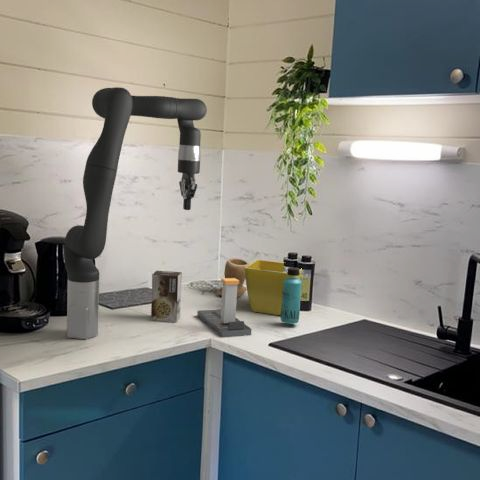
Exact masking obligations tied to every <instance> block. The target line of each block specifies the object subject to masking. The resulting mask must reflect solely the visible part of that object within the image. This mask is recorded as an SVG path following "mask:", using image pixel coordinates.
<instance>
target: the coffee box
mask: <svg viewBox="0 0 480 480" xmlns="http://www.w3.org/2000/svg"><path fill="white" fill-rule="evenodd" d="M182 274H183V273H182V272H181V271H170V270H169V271H168V270H156V271H154V272H153V273H152V274H151V305H150V306H151V308H150V309H151V313H150V314H151V315H150V321H152V322H154V321H155V322H169V323H178V321H179V320H180V319H181V301H182V299H181V298H182V276H183V275H182Z"/></svg>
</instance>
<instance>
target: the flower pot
mask: <svg viewBox="0 0 480 480" xmlns="http://www.w3.org/2000/svg"><path fill="white" fill-rule="evenodd" d="M284 263H285V262H281V261H274V260H273V261H272V260H265V259H264V260H263V259H256V260H254V261H253V262H251V263H250V264H249V265H248V266H246V267H245V277H246V279H245V284H246V285H245V287H246V289H247V290H246V292H247V296H248V301H249V305H250V308H251V311H252V312H254V313H256V312H257V313H262V314H268V315H277V316H281V309H282V293H283V285H284V280H285V279H286V278H287V277H296V278H299V279H300V277H301V273H302V268H301V269H300V275H298V276H292V275H288V274H287V273H283V268H284Z"/></svg>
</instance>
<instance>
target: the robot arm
mask: <svg viewBox="0 0 480 480" xmlns="http://www.w3.org/2000/svg"><path fill="white" fill-rule="evenodd" d="M91 104H92V105H91V106H92V109H93V111H94V113H95V114H96V115H97V116H99V117H100V118H102V119H104V122H103V127H102V130H101V134H100V136H99V137H98V139H97V141H96V142H95V144H94V145H93V147H92V148H91V150H90V152H89V154H88V156H87V159H86V162H85V167H84V171H83V177H82V187H83V192H84V193H83V195H84V199H85V203H86V212H85V213H86V214H85V219H84V223H83V225H80V224H77V225H74V226H72V227H71V228H70V229H69V230H68V231H67V232H66V234H65V238H64V266H65V271H66V273H67V292H66V293H67V298H66V299H67V300H66V301H67V304H66V305H67V306H66V312H67V313H66V338H69V339H78V340H79V339H80V340H89V339H90V338H95V337H97V336H98V335H99V305H100V303H99V301H100V297H99V295H100V270H99V269H98V268H97V266H96V265H95V263H94V259H97V258H99V257H101V255H102V253H103V252H104V249H105V246H106V241H107V233H108V223H109V213H110V207H111V204H112V203H111V202H112V198H113V197H112V196H113V191H114V187H115V182H116V177H117V172H118V167H119V162H120V156H121V152H122V147H123V142H124V138H125V135H126V132H127V128H128V125H129V123H130V120H131V119H130V118H131V117H133V116H134V117H145V118H153V119H162V120H163V119H164V120H165V119H166V120H177V126H178V129H179V147H178V155H177V156H178V157H177V173H179V174H180V173H181V174H182V176H181V178H180V181H179V182H178V184H179V190H180V195H181V197H182V198H183V202H182V203H183V208H182V209H183V210H185V211H190V210H191V208H192V207H191V206H192V199H194V197H195V195H196V191H197V189H198V184H197V183H196V177H195V174H196V175H197V174H200V173H201V140H202V139H201V135H202V134H201V130H200V129H199V128H197V127H195V125H194V124H195V123H194V121H200V120H203V119H204V118H205V117H206V115H207V111H208V110H207V109H208V108H207V106H206V104H205V102H204V101H203V100H201V99H200V98H180V97H172V96H164V95H163V96H162V95H132V94H131V93H130V91H129V90H128V89H126V88H124V87H117V86H116V87H105V88H100V89H99V90H97V91H96V92H95V93H94V95H93V97H92V101H91Z"/></svg>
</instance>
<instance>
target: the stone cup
mask: <svg viewBox="0 0 480 480" xmlns="http://www.w3.org/2000/svg"><path fill="white" fill-rule="evenodd" d="M248 265H250V264H249V262H248V261H247V260H244V259H242V258H238V257H235V258H234V257H231V258H229V259H227V260H226V263H225V266H224V272H223V273H224V278H236V279H237V280H239V284H238V285H237V298H238V297H240V296H242V295H243V294H244V293H246V292H247V287H246V286H244V284H245V282H246V277H245V267H246V266H248ZM216 293H217V295H219V296H221V297H222V287H220V288H219V289H218V290H217V291H216Z"/></svg>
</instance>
